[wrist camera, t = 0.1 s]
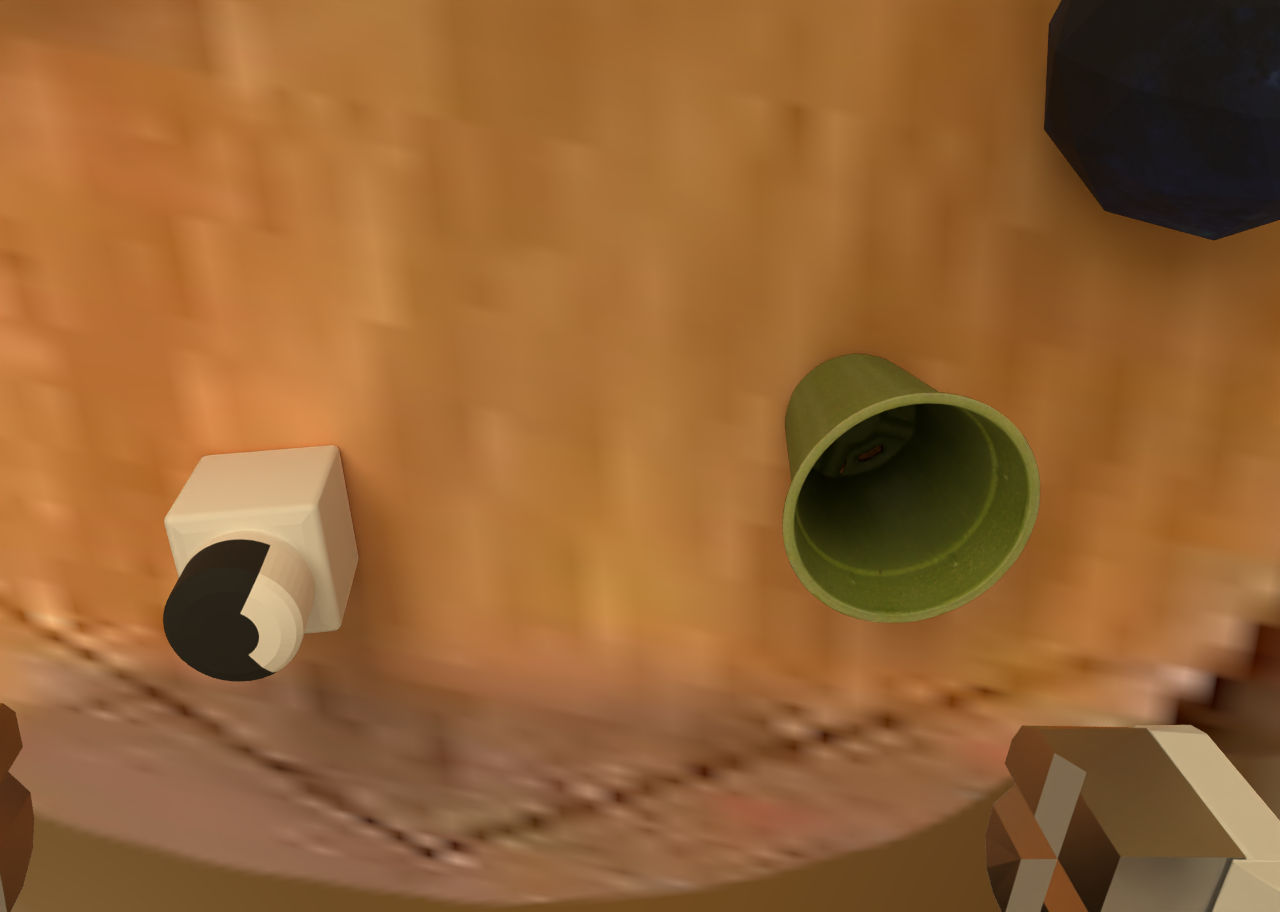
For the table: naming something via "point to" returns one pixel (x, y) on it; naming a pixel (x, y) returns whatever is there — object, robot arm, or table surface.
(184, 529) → the medicine bottle
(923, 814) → the table surface
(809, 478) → the plant pot
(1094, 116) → the decorative orb
